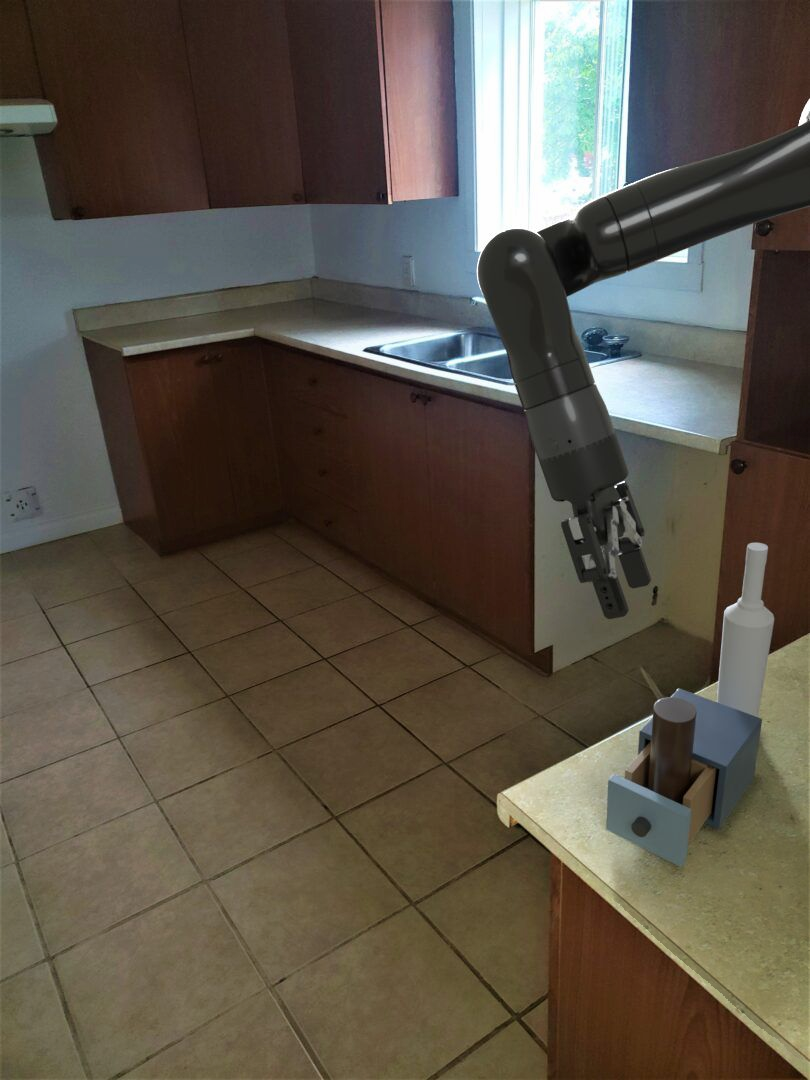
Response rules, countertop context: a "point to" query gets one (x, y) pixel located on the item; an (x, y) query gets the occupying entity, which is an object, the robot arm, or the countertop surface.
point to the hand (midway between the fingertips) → (630, 600)
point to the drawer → (659, 809)
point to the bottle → (746, 639)
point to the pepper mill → (672, 748)
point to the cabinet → (720, 750)
